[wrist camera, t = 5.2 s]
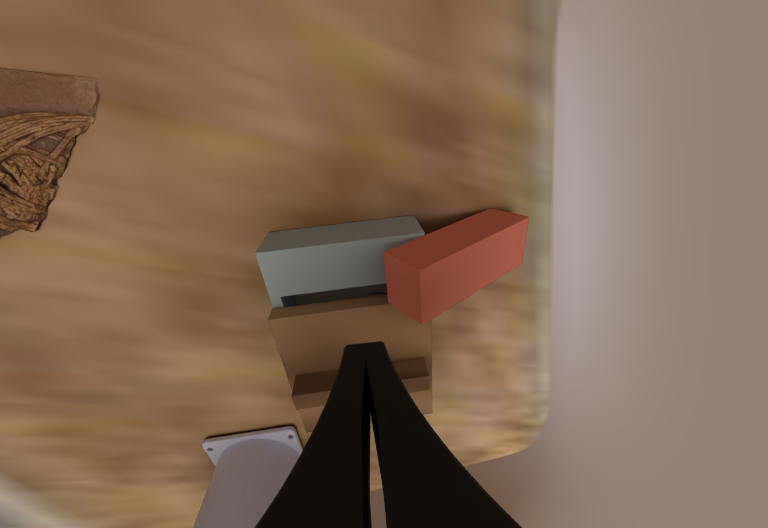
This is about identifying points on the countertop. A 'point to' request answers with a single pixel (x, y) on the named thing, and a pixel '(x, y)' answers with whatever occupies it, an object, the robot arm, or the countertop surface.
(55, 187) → the wooden fragment
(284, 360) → the lid
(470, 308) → the countertop surface
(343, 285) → the gray box
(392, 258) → the red block
